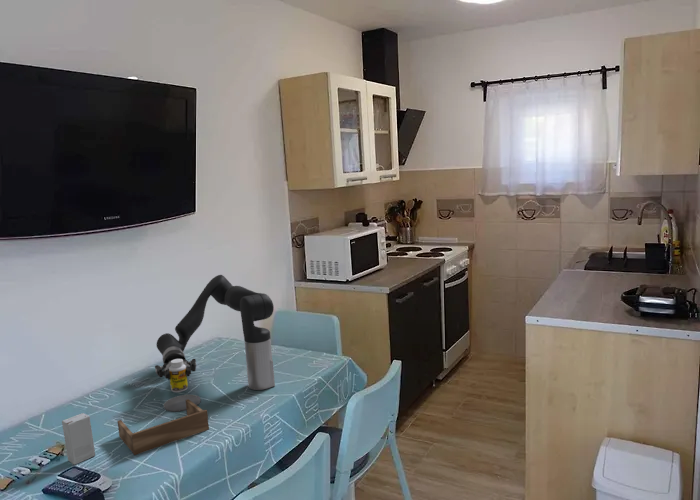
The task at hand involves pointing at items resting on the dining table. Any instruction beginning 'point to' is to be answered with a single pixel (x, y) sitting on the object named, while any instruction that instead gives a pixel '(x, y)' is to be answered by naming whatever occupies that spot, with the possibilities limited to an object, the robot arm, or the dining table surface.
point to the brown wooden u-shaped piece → (165, 430)
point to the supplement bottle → (178, 376)
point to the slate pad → (180, 402)
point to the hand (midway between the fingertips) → (178, 375)
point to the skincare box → (78, 438)
